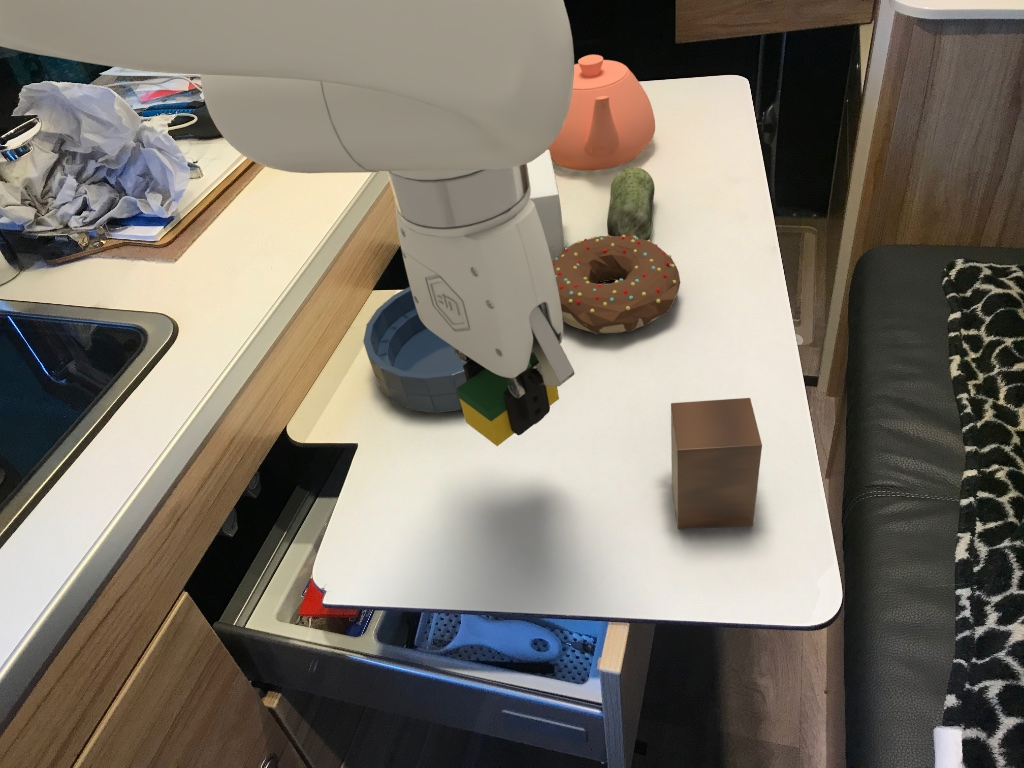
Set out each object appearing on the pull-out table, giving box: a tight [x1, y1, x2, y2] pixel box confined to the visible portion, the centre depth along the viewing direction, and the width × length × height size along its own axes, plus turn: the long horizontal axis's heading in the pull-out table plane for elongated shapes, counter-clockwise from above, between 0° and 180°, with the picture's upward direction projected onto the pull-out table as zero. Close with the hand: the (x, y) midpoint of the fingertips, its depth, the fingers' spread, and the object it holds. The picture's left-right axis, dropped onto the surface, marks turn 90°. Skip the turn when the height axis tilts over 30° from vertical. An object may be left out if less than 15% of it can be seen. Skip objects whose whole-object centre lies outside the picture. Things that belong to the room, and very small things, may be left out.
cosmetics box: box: [527, 150, 566, 263], centre depth 82 cm, size 10×6×10 cm, turn 3°
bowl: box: [362, 286, 467, 414], centre depth 72 cm, size 15×15×5 cm
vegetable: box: [606, 166, 656, 241], centre depth 85 cm, size 14×5×5 cm, turn 171°
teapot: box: [547, 54, 656, 172], centre depth 97 cm, size 22×16×12 cm
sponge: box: [457, 360, 560, 447], centre depth 52 cm, size 6×4×4 cm, turn 131°
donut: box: [552, 235, 681, 335], centre depth 75 cm, size 14×14×5 cm
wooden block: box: [670, 397, 763, 530], centre depth 54 cm, size 6×4×9 cm
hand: (511, 406), depth 53 cm, fingers closed on sponge, 3 cm apart
